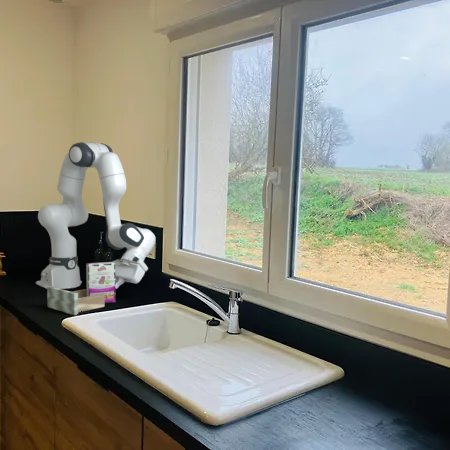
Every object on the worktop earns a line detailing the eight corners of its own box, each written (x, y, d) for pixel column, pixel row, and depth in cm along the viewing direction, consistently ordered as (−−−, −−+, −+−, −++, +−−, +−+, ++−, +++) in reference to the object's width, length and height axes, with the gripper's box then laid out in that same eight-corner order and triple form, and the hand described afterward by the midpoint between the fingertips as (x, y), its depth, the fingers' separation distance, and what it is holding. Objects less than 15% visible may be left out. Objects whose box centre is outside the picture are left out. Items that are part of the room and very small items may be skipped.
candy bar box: (112, 299, 215) (113, 261, 214) (115, 302, 211) (115, 263, 209) (86, 302, 210) (85, 262, 209) (88, 305, 206) (88, 264, 204)
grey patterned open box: (47, 306, 202) (47, 287, 201) (81, 300, 214) (81, 281, 213) (74, 315, 190) (74, 294, 190) (108, 307, 203) (108, 287, 202)
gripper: (111, 254, 226) (93, 279, 220) (143, 259, 214) (125, 286, 207) (119, 263, 230) (102, 288, 224) (150, 269, 218) (133, 295, 211)
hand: (113, 287), depth 215 cm, fingers closed
